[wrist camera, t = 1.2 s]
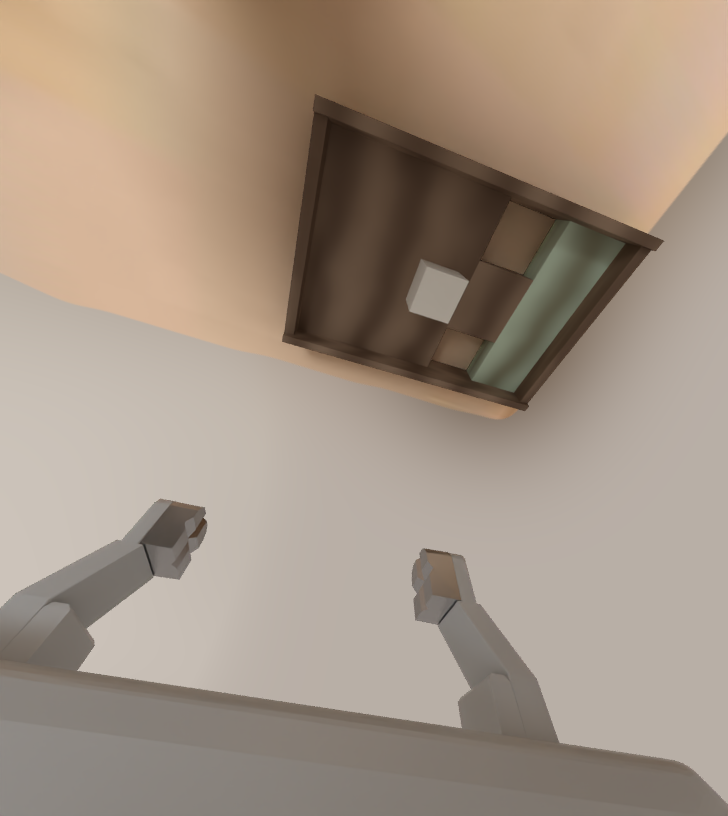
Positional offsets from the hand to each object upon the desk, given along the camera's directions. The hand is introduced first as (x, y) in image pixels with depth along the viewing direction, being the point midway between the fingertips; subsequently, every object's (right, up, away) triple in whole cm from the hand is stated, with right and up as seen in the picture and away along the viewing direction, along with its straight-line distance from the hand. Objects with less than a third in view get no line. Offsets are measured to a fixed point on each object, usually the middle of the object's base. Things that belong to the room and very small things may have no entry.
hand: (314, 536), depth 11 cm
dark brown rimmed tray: (+10, +18, +21) cm, 30 cm away
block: (+9, +17, +18) cm, 27 cm away
